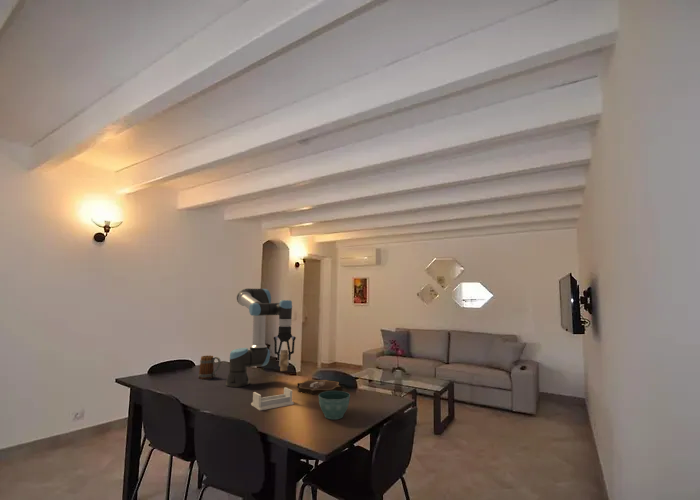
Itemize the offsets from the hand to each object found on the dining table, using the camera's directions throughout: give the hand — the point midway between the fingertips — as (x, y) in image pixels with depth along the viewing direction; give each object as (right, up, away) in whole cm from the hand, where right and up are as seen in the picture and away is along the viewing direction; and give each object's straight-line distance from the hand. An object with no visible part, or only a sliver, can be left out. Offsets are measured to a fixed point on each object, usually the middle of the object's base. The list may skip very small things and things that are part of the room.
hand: (283, 365), depth 222 cm
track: (-4, -17, -14) cm, 23 cm away
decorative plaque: (+19, -22, +21) cm, 37 cm away
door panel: (0, -2, 0) cm, 2 cm away
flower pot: (+31, -16, -33) cm, 48 cm away
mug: (-63, -24, +48) cm, 82 cm away
